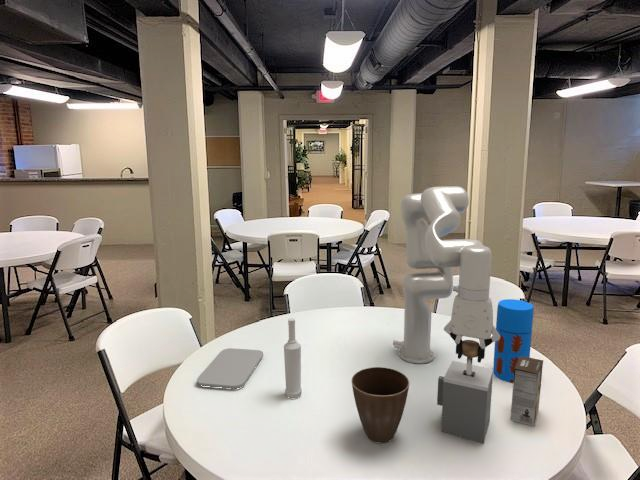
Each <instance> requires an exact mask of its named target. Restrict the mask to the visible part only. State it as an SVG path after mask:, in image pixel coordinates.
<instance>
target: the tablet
mask: <svg viewBox="0 0 640 480" xmlns="http://www.w3.org/2000/svg"><path fill="white" fill-rule="evenodd" d="M261 358H264V351H262V350H259V349H247V348H246V349H245V348H232V347H231V348H225V349H223V350H221V351H220V352H219V353H218V354H217V355H216V357H214V359H213V360H211V362H210V363H209V364H208V366H207V367H206V368H205V369H204V370H203V371H202V372H201V374H200V375H199V376H198V377H197V379H196V382H197V384H199V386H200V385H202V386H210V387H222V388H231V389H237V388H240V387H242V386H243V385H244V384H246V383H247V382H248V380H249V379H250V377H249V376H251V375H252V374H253V372H254V371H255V369H256V368H257V366H258V365H259V363H260V362H261V360H262V359H261ZM259 361H260V362H259ZM257 364H258V365H257ZM255 367H256V368H255ZM253 370H254V371H253ZM251 373H252V374H251ZM248 378H249V379H248ZM246 381H247V382H246ZM244 386H245V385H244ZM244 386H243V387H244ZM243 387H242V388H243Z"/></svg>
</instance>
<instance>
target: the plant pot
mask: <svg viewBox="0 0 640 480" xmlns="http://www.w3.org/2000/svg"><path fill="white" fill-rule="evenodd" d="M351 387H352V393H353V397H354V402H355V406H356V409H357V413H358V417H359V420H360V422H361V426H362V428H363V430H364V433H365V436H366V437H367V439H368V440H369V441H371V442H372V443H377V444H387V443H389V442H391V441H392V440H393V439H394V438H395V435H396V434H397V431H398V428H399V426H400V423H401V419H402V417H403V415H404V411H405V408H406V404H407V403H406V402H407V398H408V394H409V387H410V381H409V378H408V377H407V376H406V375H405V374H404V373H402V372H400V371H399V370H396V369H395V368H390V367H389V368H388V367H381V366H375V367H373V366H372V367H368V368H367V367H366V368H363V369H361V370H358V371H357V372H356V373H354V374H353V376H352V377H351Z"/></svg>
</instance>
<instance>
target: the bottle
mask: <svg viewBox="0 0 640 480" xmlns="http://www.w3.org/2000/svg"><path fill="white" fill-rule="evenodd" d="M287 320H288V322H287V325H288V326H287V327H288V340H287V342H286V343H284V345H283V354H284V355H283V357H284V359H283V360H284V373H285V374H284V376H285V377H284V379H285V389H284V393H285V396H287V397H289V398H288V399H290V398H297V399H299V398H300V397H302V390H303V389H302V385H301V384H302V376H301V375H302V374H301V373H302V360H301V358H302V356H301V355H302V354H301V353H302V352H301V351H302V349H301V348H302V345H301V343H299V342H298V341H297V339H296V319H295V318H293V317H292V318H288V319H287ZM287 397H286V398H287ZM298 397H299V398H298Z"/></svg>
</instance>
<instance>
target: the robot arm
mask: <svg viewBox="0 0 640 480" xmlns="http://www.w3.org/2000/svg"><path fill="white" fill-rule="evenodd" d="M469 201H470V198H469V195H468V193H467V191H466V190H465V188H463V187H461V186H457V185H455V186H453V185H451V186H448V185H447V186H433V187H427V188H426V189H425V190H423V191H422V193H421V192H420V193H411V194H407V195H405V196H404V197H403V198H402V199H401V203H400V214H401V218H402V221H403V223H404V227H405V233H406V234H405V244H406V247H405V248H406V252H405V253H406V262H407V263H406V264H407V265H408V267H409V268H411V269H416V270H427V269H429V270H431V269H432V270H433V269H436V271H433V272H432V271H429V272H428V271H426V272H425V271H423V272H422V271H421V272H412V273H408V274H406V275H405V276H404V277H403V279H402V292H403V299H404V313H403V314H404V318H403V319H404V320H403V321H404V322H403V324H404V325H403V340H401V341H399V340H395V339H394V340H393V342H392V345H393V348H394V349H399V351H398V352H399V353H398V356H399V357H400V358H401V359H402V360H403V361H405V362H408V363H410V364H411V363H412V364H418V365H419V364H427V363H431V362H432V361H434V359H435V353H434V351H432V349H431V338H432V337H431V335H432V334H431V333H432V310H431V306H430V305H428V303H426V300H436V299H437V300H438V299H439V300H440V299H447V298H450V297H451V296H452V294H453V292H456V294H457V295H455V296H454V299H453V304H452V311H451V319H450V320H449V322H447V324H446V325H445V326H444V327H443V330H444V332H445V333H447V335H448V336H450V338H452V340H453V341H454V343H455V354H457V359H462V357H463V355H462V353H461V352H462V341H463V339H462V338H463V337H465V338H466V337H467V338H473V339H478V340H479V344H480V345H479V348H478V357H477V363H480V364H481V362H482V360H484V359H485V357H486V356H485V355H486V353H485V352H486V348H487V347H488V346H489V345H491V344H494V343H495V341H498V340H499V339H500V335H499V333H498V332H497V330H496V326H494V312H493V311H494V309H493V302H492V301H493V300H492V298H490V287H491V271H492V258H493V257H492V256H493V255H492V250H491V248H490V247H489V246H485V245H484V244H483V243H482V241H480V240H478V239H475V238H474V239H473V238H466V239H465V238H464V239H462V238H460V239H459V238H458V239H457V238H456V239H441V238H442V237H444V236H447V235H449V234H451V233H453V232H454V231H455V230H456V229H457V228H458V227H459V226H460V223H461V219H462V218H461V215H460V214H463V213H465V212H466V211H467V209H468V208H469V205H470V204H469V203H470V202H469ZM425 219H428V220H429V222H430V224H428V222H427V221H426V220H425ZM454 268H459V278H458V285H456V286H455V285H454V272H453V271H454V270H453V269H454Z"/></svg>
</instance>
